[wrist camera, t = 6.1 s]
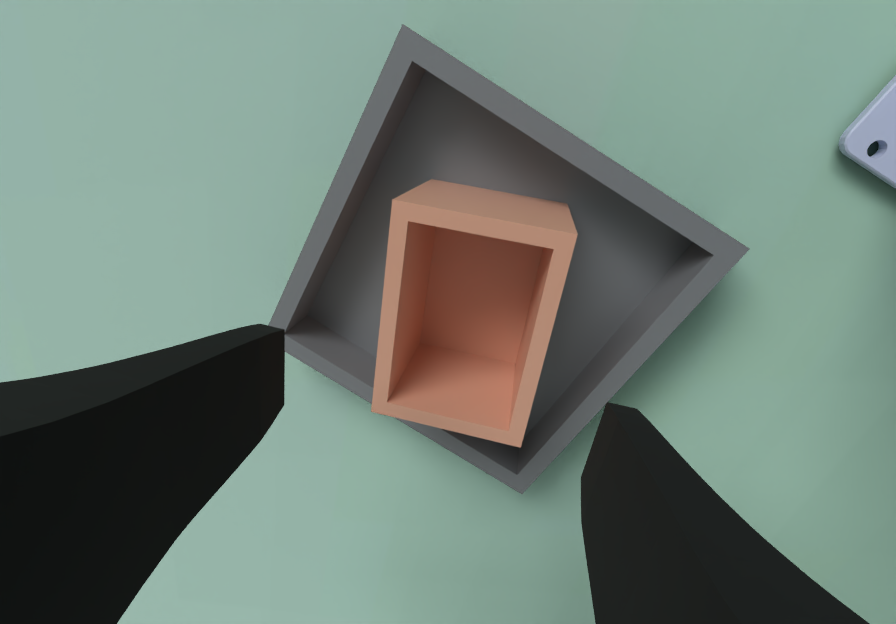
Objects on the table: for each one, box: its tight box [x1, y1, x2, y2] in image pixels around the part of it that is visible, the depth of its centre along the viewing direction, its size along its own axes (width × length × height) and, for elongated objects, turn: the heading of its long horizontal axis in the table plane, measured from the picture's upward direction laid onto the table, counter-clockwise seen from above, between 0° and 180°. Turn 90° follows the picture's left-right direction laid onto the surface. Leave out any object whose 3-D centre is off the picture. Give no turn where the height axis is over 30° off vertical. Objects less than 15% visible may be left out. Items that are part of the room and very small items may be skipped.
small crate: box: [371, 179, 578, 448], centre depth 16 cm, size 5×7×5 cm
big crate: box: [268, 24, 749, 494], centre depth 18 cm, size 12×12×3 cm
